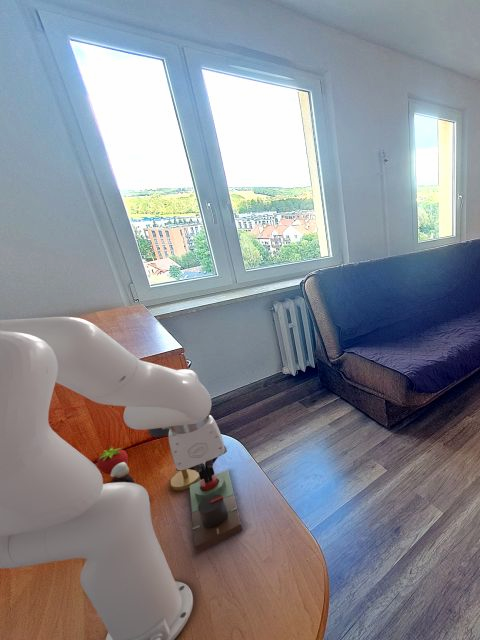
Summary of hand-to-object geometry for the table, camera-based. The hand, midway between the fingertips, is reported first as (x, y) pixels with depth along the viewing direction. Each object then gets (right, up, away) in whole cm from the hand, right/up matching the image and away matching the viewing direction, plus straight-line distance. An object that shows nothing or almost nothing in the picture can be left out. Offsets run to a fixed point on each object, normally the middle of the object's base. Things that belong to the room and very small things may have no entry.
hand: (208, 478), depth 85 cm
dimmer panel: (+7, -8, -7) cm, 12 cm away
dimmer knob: (+7, -6, -7) cm, 12 cm away
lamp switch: (0, -2, +1) cm, 2 cm away
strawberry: (-29, -3, +7) cm, 30 cm away
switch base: (0, -5, +2) cm, 5 cm away
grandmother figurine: (-18, -6, -1) cm, 19 cm away
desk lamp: (-9, -3, +5) cm, 11 cm away
